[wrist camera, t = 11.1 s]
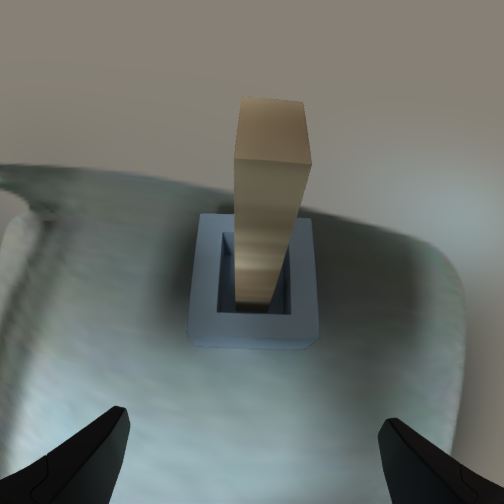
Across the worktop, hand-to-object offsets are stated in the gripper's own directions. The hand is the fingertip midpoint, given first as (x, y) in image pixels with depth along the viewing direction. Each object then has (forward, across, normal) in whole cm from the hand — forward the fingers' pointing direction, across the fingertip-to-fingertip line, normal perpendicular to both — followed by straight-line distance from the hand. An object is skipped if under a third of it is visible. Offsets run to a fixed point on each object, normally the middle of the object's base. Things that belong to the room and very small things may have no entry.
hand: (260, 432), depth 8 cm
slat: (+12, 0, 0) cm, 12 cm away
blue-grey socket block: (+12, 0, 0) cm, 12 cm away
